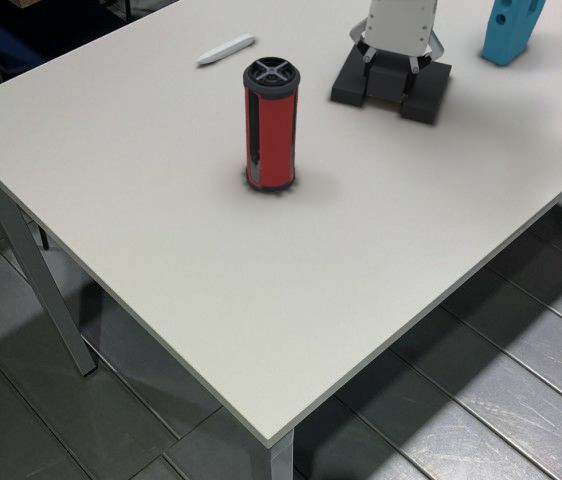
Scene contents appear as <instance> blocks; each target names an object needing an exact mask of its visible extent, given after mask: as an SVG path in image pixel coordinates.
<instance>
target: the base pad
mask: <svg viewBox="0 0 562 480" xmlns="http://www.w3.org/2000/svg"><path fill="white" fill-rule="evenodd" d="M379 51H384V52H388V53H393V54H397V55H401V56H406V57H409V55H404V54H399V53H395V52H391V51H386V50H382V49H377V51H376V52H375V53H376V56H377V54H378V52H379ZM363 58H364V57H363V55H362V54H361V53H360V51H359V50H358V48H357V45H356V43H353V46H352V48H351V50H350V51H349V54H348V55H347V58H346V59H345V61H344V63H343V65H342V67H341V69H340V71H339V73H338V75H337V77H336V79H335V80H334V83H333V84H332V86H331V92H330V101H332V102H336V103H339V104H340V103H341V104H344V105H349V106H353V107H357V108H362V105H363V102H364V101H365V98H366V96H367V95H366V92H367V85H365V82H366V77H363V74H364V67H365V61H364V59H363ZM452 68H453V65H452V64H449V63H444V62H440V61H436V60H435V61H433V62H431V63H430V64H429V65H427V66H426V67H424V68H422V69H421V70H419V72H418V74H417V79H416V83H415V86H414V88H410V90H409V92H408V94H407V95H406V97H405V100H404V103H403V106H402V111H401V116H400V117H401V118H402V119H407V120H410V121H415V122H419V123H422V124H427V125H431V126H432V125H433V124H434V120H435V117H436V115H437V112H438V109H439V106H440V104H441V100H442V98H443V95H444V93H445V89H446V86H447V84H448V81H449V78H450V74H451V70H452Z"/></svg>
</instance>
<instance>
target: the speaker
mask: <svg viewBox="0 0 562 480" xmlns="http://www.w3.org/2000/svg"><path fill="white" fill-rule="evenodd" d="M242 73H243V74H242V84H243V88H244V111H245V113H244V114H245V145H246V147H245V149H246V151H245V152H246V167H245V179H246V181H247V183H248V184H249V185H250V186H251V187H252V188H254V189H256V190H257V191H260V192H264V193H279V192H282V191H284V190H286V189H289V188H290V187H291V186H292V185H293V184H294V182H295V180H296V166H295V163H296V161H295V160H296V139H297V138H296V137H297V117H298V103H299V86H300V84H301V79H302V77H301V72H300V70H299V69H298V68H297V67H296V66H295V65H294V64H293V63H291V62H290V61H289V60H288V59H286V58H282V57H279V56H264V57H260V58H258V59H256V60H254V61H253V62H252V63H250V64H249V65H248V66H247V67H245V69H244V70H243V72H242Z"/></svg>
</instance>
